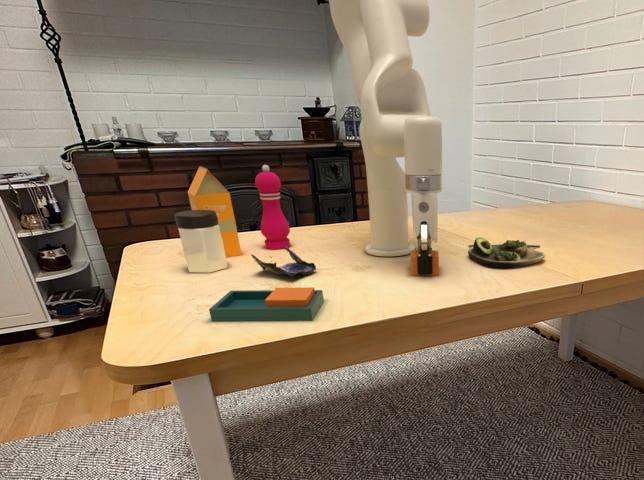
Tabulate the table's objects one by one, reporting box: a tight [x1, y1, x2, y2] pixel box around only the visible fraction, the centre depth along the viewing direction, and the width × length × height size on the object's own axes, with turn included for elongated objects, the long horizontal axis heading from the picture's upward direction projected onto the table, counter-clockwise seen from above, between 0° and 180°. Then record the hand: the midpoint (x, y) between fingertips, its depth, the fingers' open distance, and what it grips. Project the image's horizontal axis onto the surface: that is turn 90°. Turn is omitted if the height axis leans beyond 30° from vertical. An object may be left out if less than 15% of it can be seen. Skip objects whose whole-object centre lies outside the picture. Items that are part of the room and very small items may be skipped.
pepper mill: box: [254, 164, 291, 250], centre depth 119 cm, size 7×7×20 cm
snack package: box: [251, 245, 317, 281], centre depth 100 cm, size 12×6×12 cm
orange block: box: [410, 249, 440, 276], centre depth 103 cm, size 6×6×4 cm
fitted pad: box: [265, 286, 316, 307], centre depth 81 cm, size 7×7×2 cm
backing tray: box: [208, 289, 325, 322], centre depth 82 cm, size 10×17×2 cm, turn 92°
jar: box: [173, 209, 228, 274], centre depth 103 cm, size 9×8×12 cm
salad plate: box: [467, 236, 546, 269], centre depth 114 cm, size 19×18×5 cm
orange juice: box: [187, 165, 242, 258], centre depth 112 cm, size 8×9×20 cm
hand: (425, 268), depth 104 cm, fingers closed on orange block, 6 cm apart
